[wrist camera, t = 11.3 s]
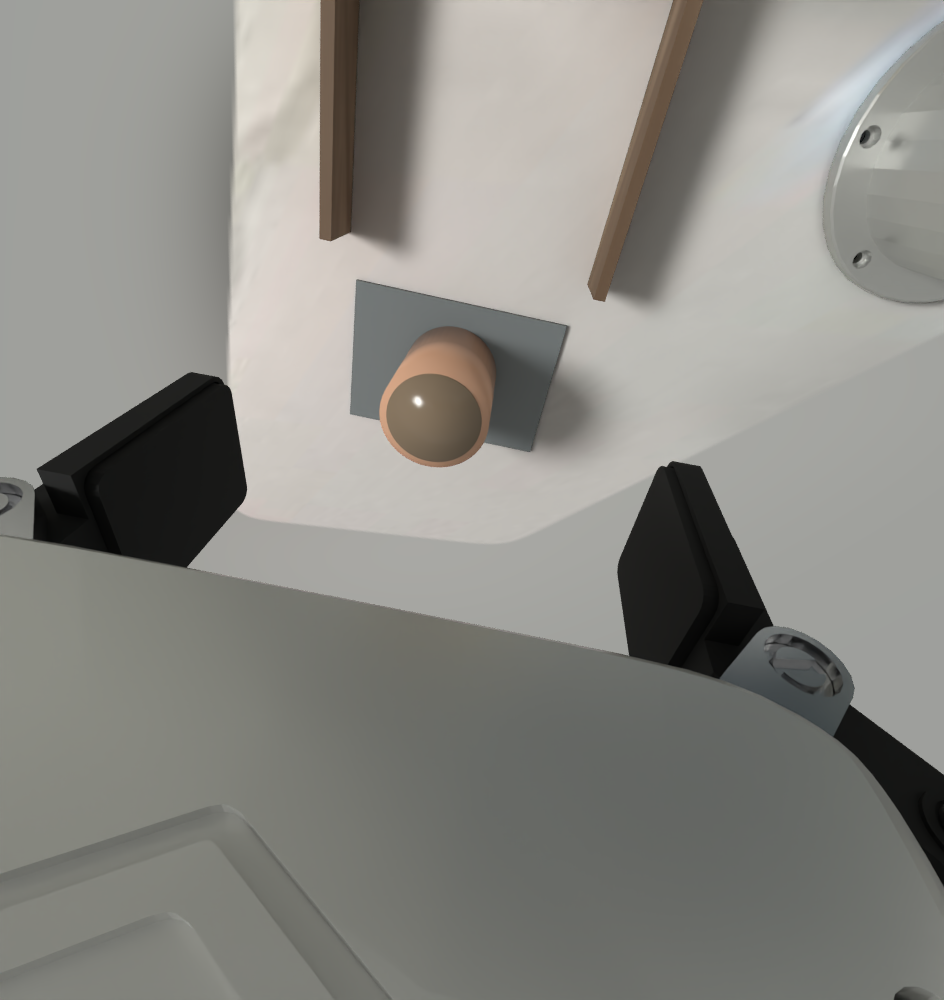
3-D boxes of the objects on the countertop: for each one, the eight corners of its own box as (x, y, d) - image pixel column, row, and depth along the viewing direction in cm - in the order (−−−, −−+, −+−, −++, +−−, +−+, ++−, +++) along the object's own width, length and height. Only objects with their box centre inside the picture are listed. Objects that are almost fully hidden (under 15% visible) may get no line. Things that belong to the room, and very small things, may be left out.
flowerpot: (505, 337, 31) (499, 380, 25) (486, 422, 35) (477, 477, 29) (410, 316, 31) (383, 355, 25) (401, 404, 35) (375, 456, 29)
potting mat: (566, 325, 31) (566, 326, 30) (530, 450, 36) (529, 452, 36) (357, 279, 30) (356, 280, 30) (350, 412, 36) (350, 414, 35)
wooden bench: (721, -109, 20) (1063, -569, 7) (597, 286, 29) (650, 398, 16) (351, -201, 20) (10, -862, 7) (340, 229, 29) (182, 297, 16)
